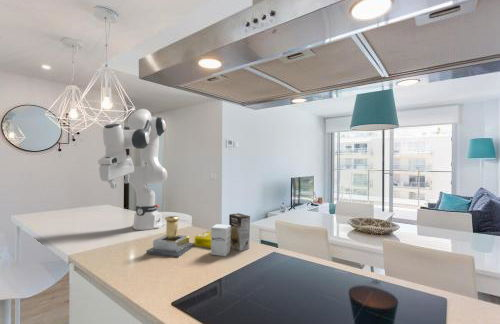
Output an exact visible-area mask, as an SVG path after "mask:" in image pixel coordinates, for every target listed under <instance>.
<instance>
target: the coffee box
mask: <svg viewBox="0 0 500 324" xmlns="http://www.w3.org/2000/svg"><path fill="white" fill-rule="evenodd" d="M228 218H229V219H228V220H229V221H228V222H229V223H228V225H231V243H230V248H232V249H235V250H237V251H240V252H241V251H246V250H249V249H250V232H251V231H250V230H251V216H250V215H247V214H242V213H239V212H238V213H232V214H231V213H230V214H229V216H228Z"/></svg>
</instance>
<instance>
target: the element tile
mask: <svg viewBox="0 0 500 324" xmlns="http://www.w3.org/2000/svg"><path fill="white" fill-rule="evenodd" d="M193 240H194V241H193V243H195V244H194V246H199V247H203V246H204V247H205V248H210V249H211V230H208V231H205V232H202V233H200V234H197V235H195V236H194V239H193ZM204 247H203V248H204Z"/></svg>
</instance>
